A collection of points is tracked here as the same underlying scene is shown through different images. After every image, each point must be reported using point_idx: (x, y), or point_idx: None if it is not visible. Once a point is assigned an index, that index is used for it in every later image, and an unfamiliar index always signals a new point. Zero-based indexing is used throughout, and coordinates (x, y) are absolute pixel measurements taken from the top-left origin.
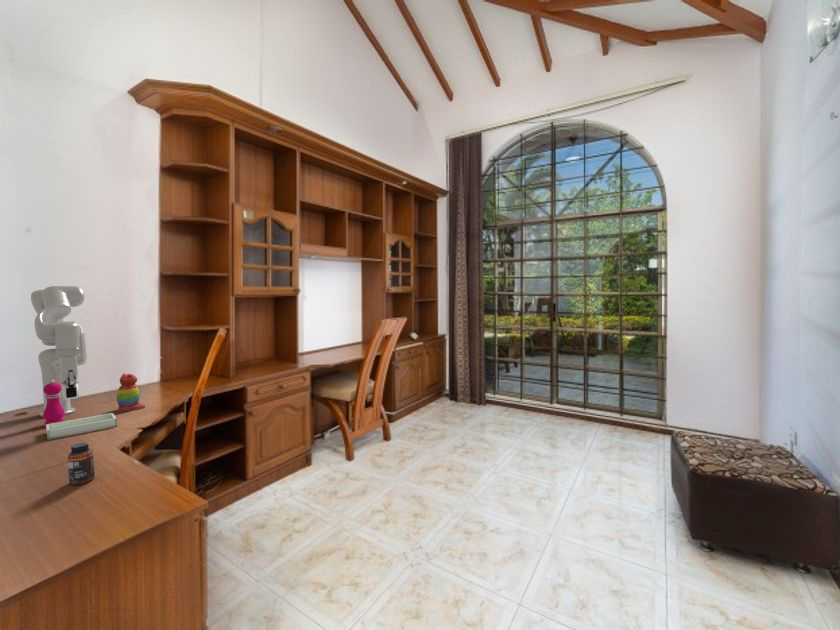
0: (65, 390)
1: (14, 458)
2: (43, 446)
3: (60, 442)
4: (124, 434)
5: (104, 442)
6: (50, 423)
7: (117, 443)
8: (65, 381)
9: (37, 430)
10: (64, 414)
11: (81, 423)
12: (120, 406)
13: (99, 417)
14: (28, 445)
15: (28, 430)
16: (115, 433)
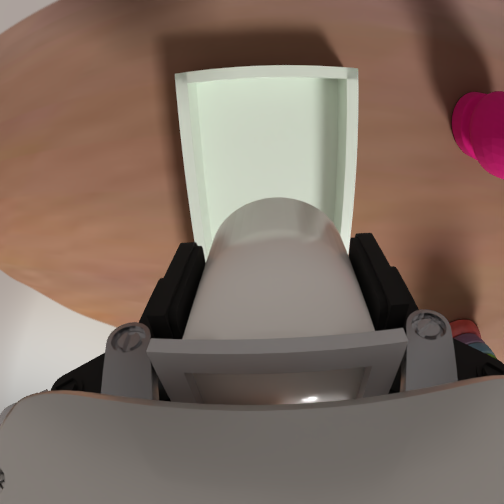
0: (205, 286)
1: (23, 33)
2: (93, 78)
3: (107, 128)
4: (93, 303)
5: (39, 253)
6: (462, 106)
7: (23, 276)
8: (405, 382)
9: (426, 52)
10: (486, 170)
11: (336, 208)
12: (454, 338)
13: None
14: (152, 19)
15: (453, 31)
16: (117, 288)
